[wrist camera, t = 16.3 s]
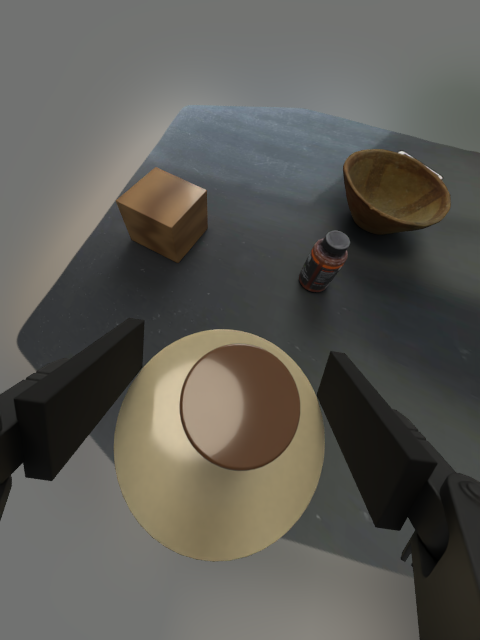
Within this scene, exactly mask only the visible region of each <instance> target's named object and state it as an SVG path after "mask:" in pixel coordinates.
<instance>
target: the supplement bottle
mask: <svg viewBox="0 0 480 640" xmlns="http://www.w3.org/2000/svg"><path fill="white" fill-rule="evenodd" d="M349 245H350V240H349V238H348V236H347V235H345V234H344V233H342V232H340V231H330V232H329V233H327V235H326V236H325V238H323V239H320V240H319V241H317V242H316V243H315V245H314V247H313V249H312V250H311V252H310V254H309V256H308V258H307V260H306V262H305V264H304V266H303V268H302V270H301V272H300V275H299V280H300V283H301V285H302V286H303V287H304V288H305V289H307V290H309V291H312V292H320V291H323V290H324V289H325V288H326V287H327V286H328V285H329V283H330V282H331V281H332V279H333V278H334V277H335V275H336V274H337V272H338V271H339V270H340V268H341V267H342V266H343V264H344V263H345V261H346V259H347V256H348V252H347V248H348V247H349Z"/></svg>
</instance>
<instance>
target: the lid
mask: <svg viewBox="0 0 480 640" xmlns="http://www.w3.org/2000/svg"><path fill="white" fill-rule="evenodd" d="M324 449H325V436H324V425H323V418H322V414H321V410H320V406H319V403H318V400H317V398H316V395H315V392H314V390H313V388H312V386H311V384H310V382H309V381H308V379H307V377H306V376H305V374H304V373H303V372H302V370H301V369H300V367H299V366H298V365H297V364H296V363H295V362H294V361H293V359H291V358H290V357H289V356H288V355H287V354H286V353H285V352H284V351H282V350H281V349H280V348H278V347H277V346H276V345H274V344H272V343H271V342H269V341H267V340H265V339H263V338H261V337H258V336H256V335H253V334H250V333H246V332H243V331H236V330H223V329H219V330H208V331H203V332H198V333H195V334H192V335H189V336H186V337H184V338H182V339H180V340H177V341H175V342H174V343H172V344H170V345H169V346H167V347H166V348H164V349H163V350H161V351H160V352H159V353H158V354H156V355H155V356H154V357H153V358H152V359H151V360H150V361H149V362H148V363H147V364H146V365H145V366H144V367H143V369H142V370H141V371H140V372H139V374H138V375H137V376H136V378H135V379H134V381H133V383H132V384H131V386H130V388H129V389H128V392H127V394H126V396H125V398H124V400H123V402H122V405H121V409H120V412H119V415H118V419H117V424H116V429H115V437H114V462H115V469H116V474H117V479H118V483H119V486H120V489H121V492H122V495H123V497H124V499H125V501H126V503H127V505H128V507H129V509H130V511H131V512H132V514H133V515H134V517H135V518H136V520H137V521H138V523H139V524H140V525H141V526H142V527H143V528H144V529H145V530H146V531H147V533H148V534H149V535H150V536H151V537H152V538H154V539H155V540H157V541H158V542H159V543H161V544H162V545H163V546H165V547H166V548H168V549H170V550H172V551H174V552H176V553H178V554H180V555H183V556H186V557H190V558H193V559H196V560H204V561H213V562H214V561H230V560H234V559H239V558H243V557H247V556H249V555H252V554H254V553H257V552H259V551H261V550H263V549H265V548H266V547H268V546H270V545H271V544H273V543H274V542H276V541H277V540H278V539H279V538H281V537H282V536H283V535H284V534H285V533H287V532H288V531H289V530H290V529H291V527H292V526H293V525H294V524H295V523H296V522H297V521H298V519H299V518H300V517H301V515H302V514H303V512H304V511H305V509H306V508H307V506H308V504H309V502H310V500H311V498H312V496H313V494H314V492H315V490H316V487H317V484H318V481H319V478H320V475H321V470H322V465H323V460H324Z"/></svg>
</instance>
